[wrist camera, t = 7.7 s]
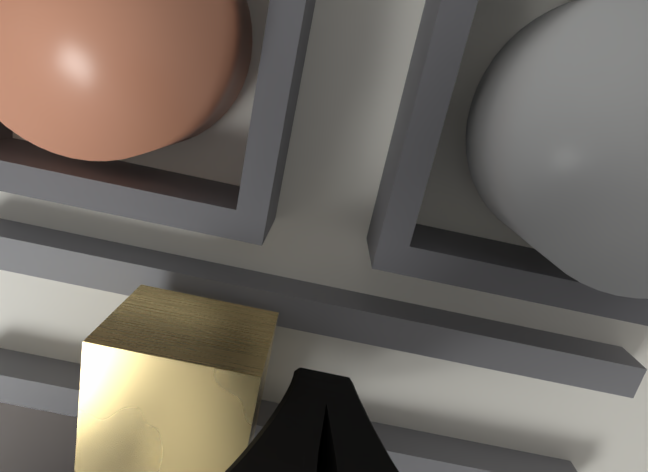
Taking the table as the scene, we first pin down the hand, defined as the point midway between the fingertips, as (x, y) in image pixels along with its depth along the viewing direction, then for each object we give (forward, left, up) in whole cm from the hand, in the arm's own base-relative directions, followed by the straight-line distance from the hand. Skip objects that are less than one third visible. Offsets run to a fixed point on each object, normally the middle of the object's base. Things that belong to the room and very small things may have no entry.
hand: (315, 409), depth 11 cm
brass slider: (0, +3, -2) cm, 3 cm away
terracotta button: (+7, +5, -2) cm, 9 cm away
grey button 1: (+7, -4, 0) cm, 8 cm away
